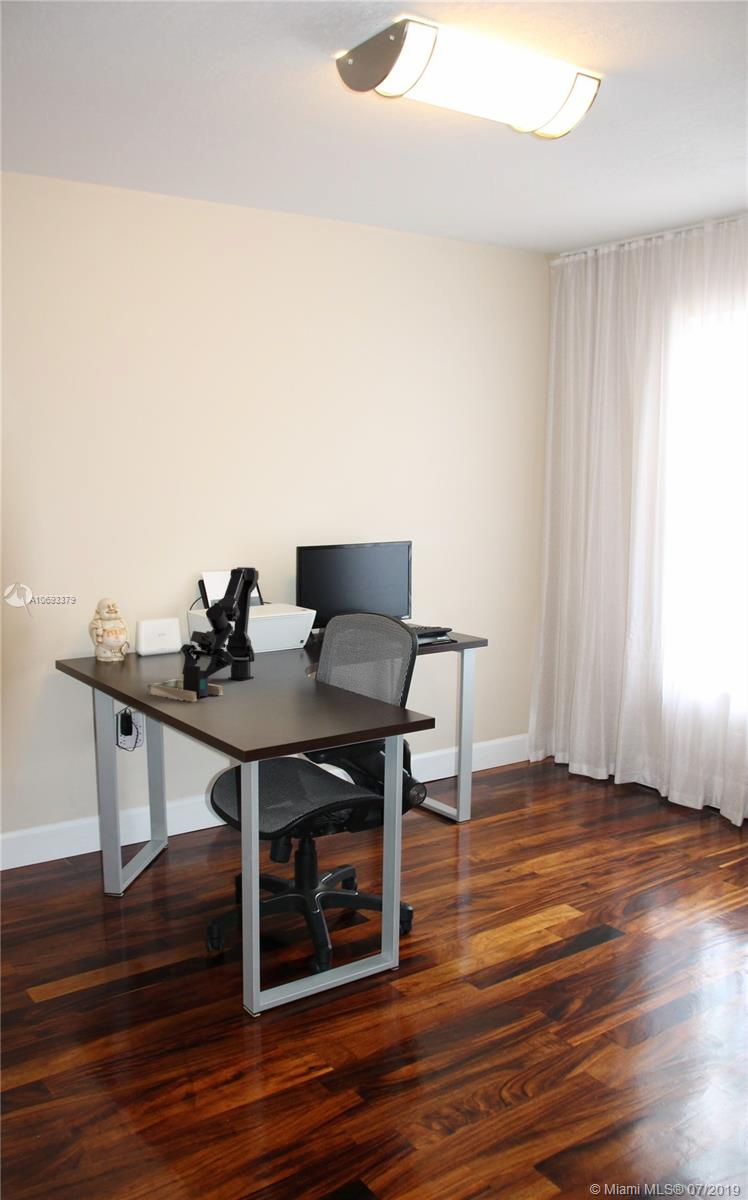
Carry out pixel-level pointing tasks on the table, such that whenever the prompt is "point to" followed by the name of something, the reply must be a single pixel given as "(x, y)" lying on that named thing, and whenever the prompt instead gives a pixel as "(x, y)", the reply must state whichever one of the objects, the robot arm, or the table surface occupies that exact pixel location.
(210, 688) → the channel
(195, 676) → the dark cylinder with backplate
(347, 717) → the table surface
